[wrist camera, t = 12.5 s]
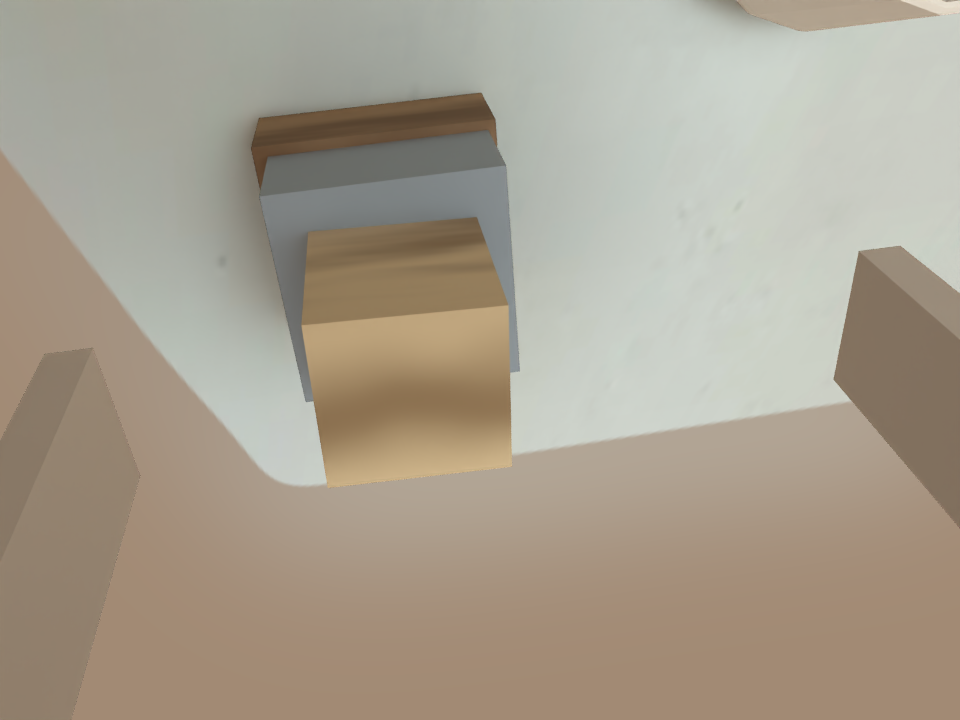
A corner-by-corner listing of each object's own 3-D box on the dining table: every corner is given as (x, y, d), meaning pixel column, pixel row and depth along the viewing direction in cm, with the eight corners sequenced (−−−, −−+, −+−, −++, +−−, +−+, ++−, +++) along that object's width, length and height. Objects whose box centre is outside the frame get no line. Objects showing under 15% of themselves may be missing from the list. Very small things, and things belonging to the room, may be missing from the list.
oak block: (308, 231, 36) (301, 325, 29) (476, 217, 36) (508, 305, 30) (329, 375, 39) (327, 487, 33) (482, 359, 40) (511, 466, 33)
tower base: (259, 116, 43) (250, 147, 39) (480, 91, 44) (495, 119, 39) (301, 311, 49) (297, 357, 44) (494, 286, 50) (509, 328, 45)
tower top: (267, 156, 39) (259, 196, 35) (488, 129, 40) (506, 165, 35) (308, 347, 44) (305, 402, 40) (502, 320, 45) (519, 371, 41)
